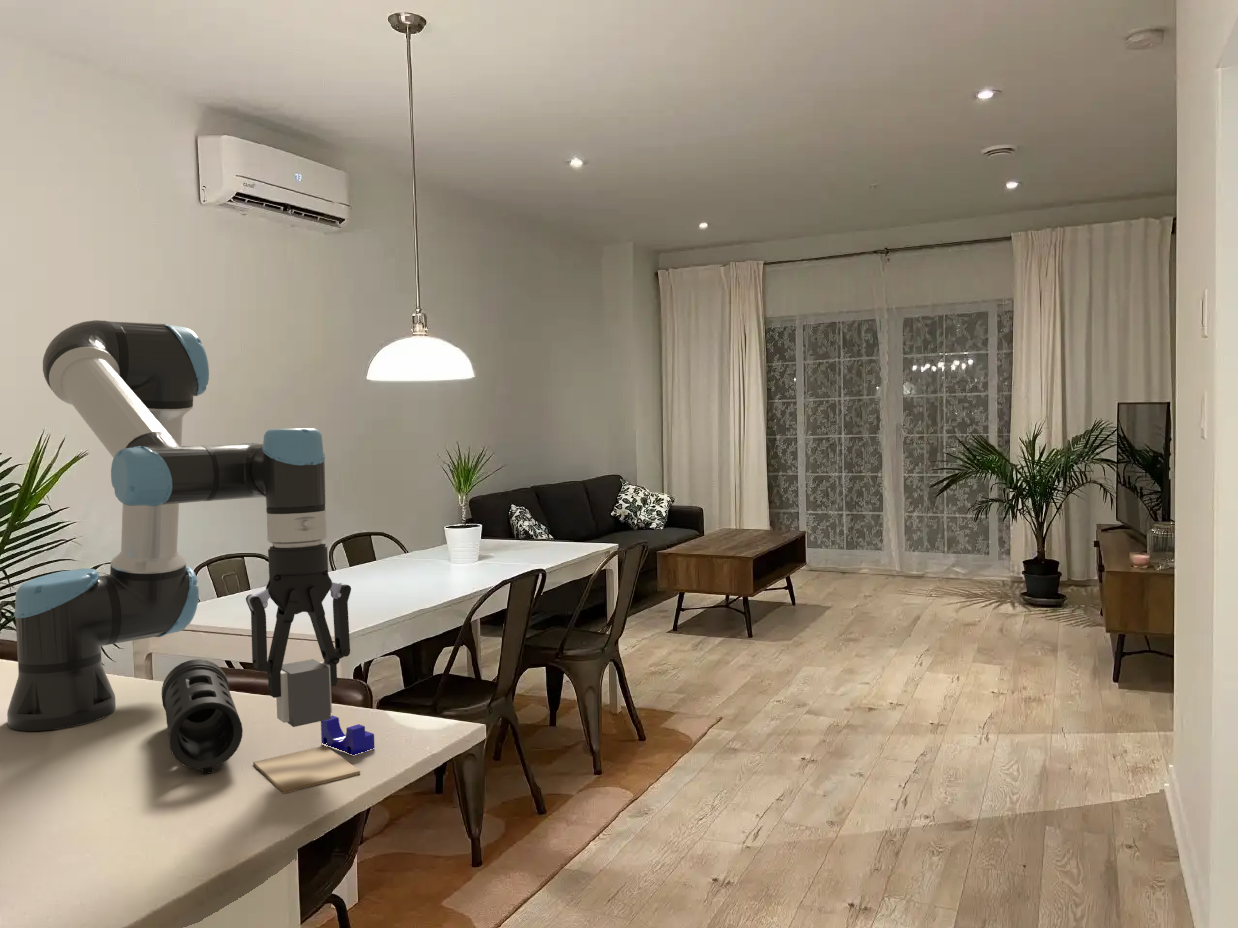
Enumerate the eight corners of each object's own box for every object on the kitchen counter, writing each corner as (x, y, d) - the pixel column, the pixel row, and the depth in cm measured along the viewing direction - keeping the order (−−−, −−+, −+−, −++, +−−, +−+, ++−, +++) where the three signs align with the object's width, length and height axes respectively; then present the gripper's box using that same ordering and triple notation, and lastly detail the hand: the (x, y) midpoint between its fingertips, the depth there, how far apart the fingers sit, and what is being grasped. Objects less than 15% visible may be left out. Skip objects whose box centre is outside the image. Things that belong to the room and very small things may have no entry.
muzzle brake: (168, 784, 121) (165, 706, 121) (162, 725, 146) (159, 660, 146) (246, 770, 126) (243, 695, 125) (227, 715, 150) (225, 652, 150)
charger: (275, 713, 127) (272, 663, 127) (311, 706, 130) (309, 657, 130) (293, 726, 121) (291, 673, 121) (331, 718, 124) (328, 667, 124)
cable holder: (374, 750, 133) (373, 723, 132) (353, 757, 130) (352, 729, 130) (342, 739, 138) (341, 713, 138) (321, 746, 135) (320, 718, 135)
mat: (253, 764, 127) (253, 761, 127) (325, 748, 133) (324, 745, 133) (284, 793, 117) (283, 790, 117) (360, 773, 123) (360, 770, 123)
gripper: (235, 552, 115) (243, 737, 116) (373, 539, 126) (379, 707, 127) (219, 547, 121) (226, 723, 122) (352, 535, 132) (358, 696, 133)
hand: (304, 714), depth 125 cm, fingers closed on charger, 5 cm apart
